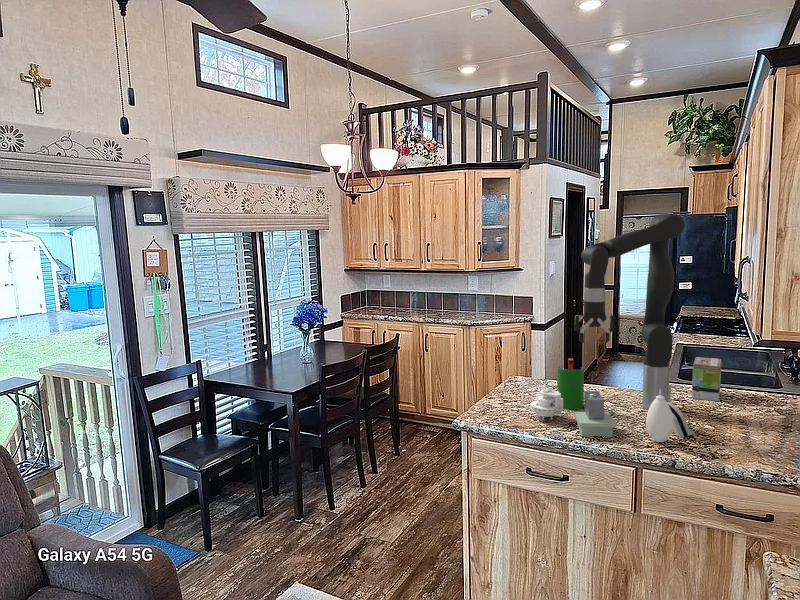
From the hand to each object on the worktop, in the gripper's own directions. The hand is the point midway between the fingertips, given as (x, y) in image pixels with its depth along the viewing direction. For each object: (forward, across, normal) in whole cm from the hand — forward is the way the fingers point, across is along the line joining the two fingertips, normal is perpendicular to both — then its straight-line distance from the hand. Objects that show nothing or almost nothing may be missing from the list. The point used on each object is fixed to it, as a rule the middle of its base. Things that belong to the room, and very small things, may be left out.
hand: (594, 342), depth 201 cm
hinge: (+28, -24, +14) cm, 40 cm away
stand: (+28, +3, +18) cm, 34 cm away
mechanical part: (+28, +18, +5) cm, 34 cm away
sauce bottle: (+28, -16, +26) cm, 42 cm away
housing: (+23, +3, +16) cm, 28 cm away
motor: (+28, +7, -10) cm, 31 cm away
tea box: (+28, -50, -28) cm, 64 cm away
